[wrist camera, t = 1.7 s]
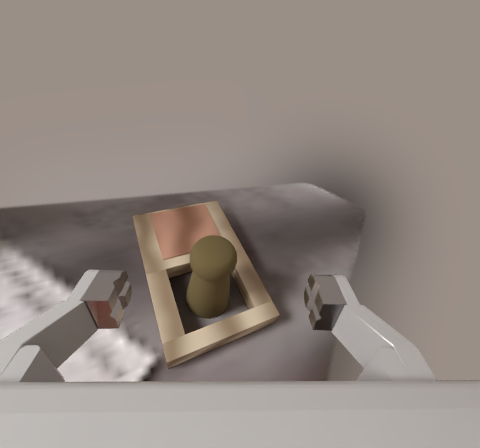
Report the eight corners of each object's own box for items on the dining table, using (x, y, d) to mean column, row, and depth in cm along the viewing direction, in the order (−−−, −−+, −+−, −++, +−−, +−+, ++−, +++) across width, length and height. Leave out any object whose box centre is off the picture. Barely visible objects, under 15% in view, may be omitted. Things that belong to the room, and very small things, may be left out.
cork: (176, 294, 33) (173, 244, 25) (210, 269, 36) (217, 219, 29) (205, 328, 31) (212, 285, 23) (238, 298, 34) (255, 251, 26)
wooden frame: (168, 368, 27) (166, 362, 25) (134, 226, 40) (132, 214, 38) (274, 322, 33) (280, 314, 31) (215, 210, 45) (216, 199, 43)
